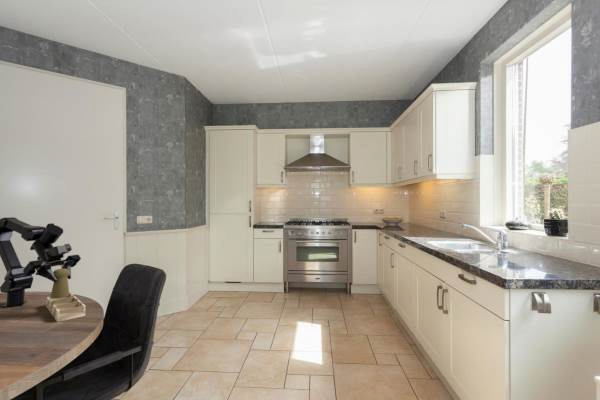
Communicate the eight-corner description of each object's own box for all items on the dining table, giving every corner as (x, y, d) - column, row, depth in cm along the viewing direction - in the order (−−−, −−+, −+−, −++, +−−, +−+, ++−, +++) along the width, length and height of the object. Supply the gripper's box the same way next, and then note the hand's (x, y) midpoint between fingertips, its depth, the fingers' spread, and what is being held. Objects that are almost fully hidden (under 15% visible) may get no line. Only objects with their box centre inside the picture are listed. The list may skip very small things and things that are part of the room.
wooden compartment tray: (45, 306, 127) (46, 296, 127) (70, 301, 133) (71, 292, 133) (57, 321, 110) (57, 311, 110) (85, 315, 117) (85, 305, 117)
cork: (72, 293, 124) (73, 267, 124) (64, 297, 118) (65, 270, 118) (56, 294, 122) (57, 267, 123) (46, 298, 116) (48, 270, 117)
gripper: (29, 240, 113) (48, 272, 109) (78, 236, 131) (96, 263, 127) (15, 259, 115) (32, 290, 112) (65, 252, 133) (82, 279, 129)
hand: (63, 280), depth 120 cm, fingers closed on cork, 5 cm apart
